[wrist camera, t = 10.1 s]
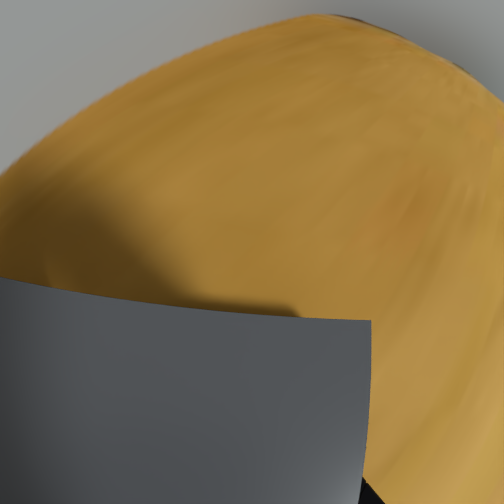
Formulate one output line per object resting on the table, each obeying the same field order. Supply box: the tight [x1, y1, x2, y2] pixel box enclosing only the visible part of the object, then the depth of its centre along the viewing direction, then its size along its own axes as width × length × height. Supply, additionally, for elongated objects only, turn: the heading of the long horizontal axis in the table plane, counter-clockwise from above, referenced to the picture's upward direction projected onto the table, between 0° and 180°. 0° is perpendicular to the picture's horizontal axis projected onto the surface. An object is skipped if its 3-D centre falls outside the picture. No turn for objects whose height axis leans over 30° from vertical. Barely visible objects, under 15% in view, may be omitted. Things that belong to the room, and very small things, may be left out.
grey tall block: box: [0, 277, 371, 504], centre depth 8 cm, size 6×6×13 cm
